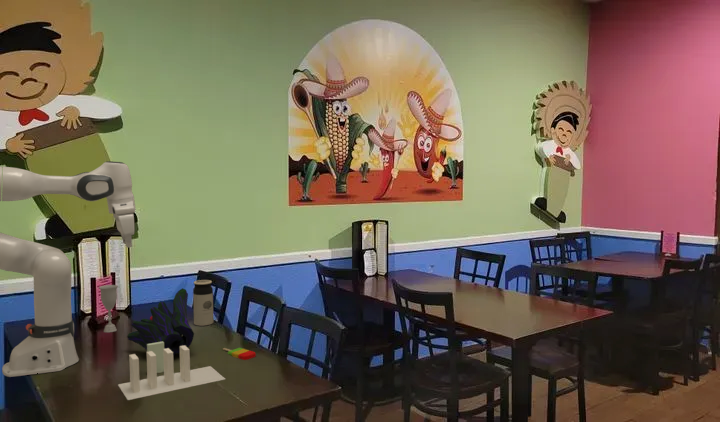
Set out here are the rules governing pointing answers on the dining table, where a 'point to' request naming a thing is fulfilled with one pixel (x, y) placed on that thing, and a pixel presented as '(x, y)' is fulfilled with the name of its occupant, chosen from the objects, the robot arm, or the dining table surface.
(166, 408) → the dining table surface
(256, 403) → the dining table surface
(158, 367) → the domino
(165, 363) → the domino
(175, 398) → the dining table surface
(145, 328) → the decorative plant
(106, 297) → the chalice
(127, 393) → the mat
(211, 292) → the travel mug
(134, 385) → the domino
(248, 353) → the popsicle
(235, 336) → the dining table surface
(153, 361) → the domino
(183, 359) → the domino
